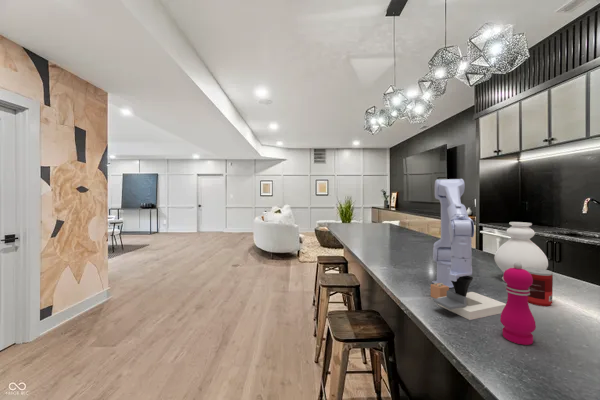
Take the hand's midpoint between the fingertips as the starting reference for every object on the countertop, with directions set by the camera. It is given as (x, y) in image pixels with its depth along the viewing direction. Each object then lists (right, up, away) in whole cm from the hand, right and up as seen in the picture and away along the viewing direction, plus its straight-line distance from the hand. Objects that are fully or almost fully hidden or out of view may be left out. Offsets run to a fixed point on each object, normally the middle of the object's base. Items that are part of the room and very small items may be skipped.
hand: (461, 298), depth 89 cm
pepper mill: (+4, -4, -17) cm, 18 cm away
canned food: (+30, -4, +6) cm, 31 cm away
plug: (-1, -4, +11) cm, 12 cm away
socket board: (+4, -4, +2) cm, 6 cm away
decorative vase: (+42, -3, +28) cm, 50 cm away
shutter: (-5, -1, -2) cm, 5 cm away
